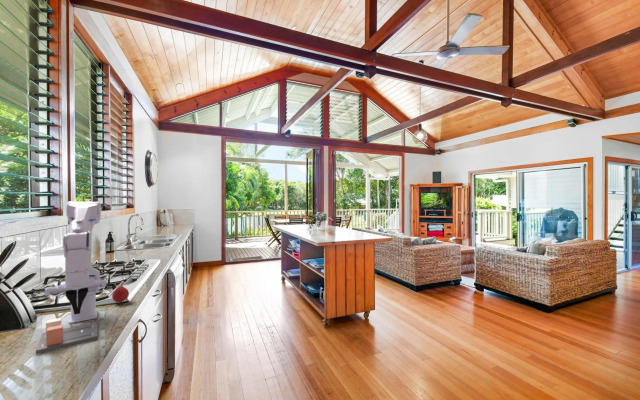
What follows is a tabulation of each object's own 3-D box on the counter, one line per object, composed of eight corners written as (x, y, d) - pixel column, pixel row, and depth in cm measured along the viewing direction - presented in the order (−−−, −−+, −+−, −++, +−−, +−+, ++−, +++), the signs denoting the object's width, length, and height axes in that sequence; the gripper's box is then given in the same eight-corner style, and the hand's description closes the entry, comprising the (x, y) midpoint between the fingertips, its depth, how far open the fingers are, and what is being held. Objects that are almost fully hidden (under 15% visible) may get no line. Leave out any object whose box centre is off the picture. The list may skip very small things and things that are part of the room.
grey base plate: (42, 337, 91) (42, 333, 91) (97, 325, 100) (97, 321, 100) (35, 354, 81) (35, 350, 81) (97, 339, 90) (97, 335, 90)
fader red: (47, 342, 86) (47, 327, 86) (62, 339, 88) (62, 324, 88) (46, 346, 84) (46, 330, 84) (62, 342, 86) (62, 327, 86)
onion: (120, 306, 117) (120, 287, 117) (108, 305, 119) (108, 286, 118) (132, 301, 123) (132, 283, 123) (121, 300, 124) (121, 282, 124)
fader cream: (46, 334, 91) (46, 320, 90) (61, 331, 93) (61, 317, 93) (45, 337, 88) (45, 323, 88) (60, 334, 91) (60, 320, 91)
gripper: (43, 277, 81) (43, 323, 81) (106, 269, 90) (106, 311, 90) (46, 271, 87) (46, 315, 87) (105, 265, 96) (105, 304, 96)
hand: (77, 313), depth 89 cm, fingers closed
